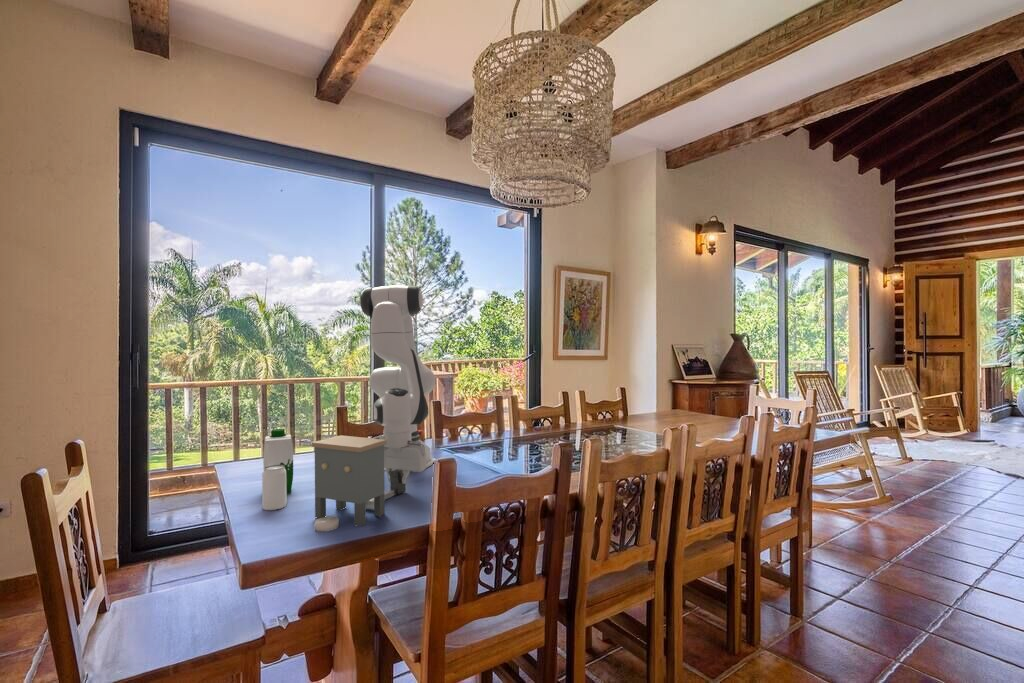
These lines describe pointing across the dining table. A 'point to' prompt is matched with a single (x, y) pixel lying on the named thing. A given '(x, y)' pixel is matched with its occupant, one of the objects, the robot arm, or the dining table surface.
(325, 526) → the coaster
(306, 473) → the dining table surface
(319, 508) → the cabinet
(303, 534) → the dining table surface
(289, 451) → the milk carton
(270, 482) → the can
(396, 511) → the dining table surface
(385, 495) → the block
